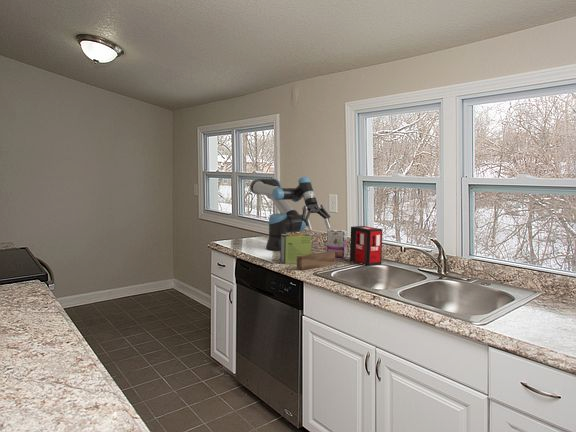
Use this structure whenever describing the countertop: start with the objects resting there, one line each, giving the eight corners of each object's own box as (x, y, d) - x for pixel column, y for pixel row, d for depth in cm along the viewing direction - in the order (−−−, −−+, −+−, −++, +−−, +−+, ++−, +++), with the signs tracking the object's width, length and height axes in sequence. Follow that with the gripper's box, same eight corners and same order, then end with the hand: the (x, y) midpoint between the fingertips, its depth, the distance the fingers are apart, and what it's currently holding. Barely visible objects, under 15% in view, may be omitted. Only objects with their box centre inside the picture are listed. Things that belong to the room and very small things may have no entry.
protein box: (311, 263, 243) (311, 235, 242) (284, 264, 239) (285, 236, 237) (305, 259, 253) (305, 233, 252) (279, 260, 249) (280, 233, 247)
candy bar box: (346, 257, 262) (347, 230, 260) (343, 258, 257) (344, 231, 256) (329, 255, 267) (330, 228, 266) (326, 256, 263) (327, 229, 261)
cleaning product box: (349, 260, 251) (350, 226, 249) (361, 259, 255) (362, 225, 253) (368, 266, 237) (370, 230, 235) (381, 264, 241) (382, 229, 239)
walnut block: (296, 269, 226) (296, 255, 226) (329, 263, 241) (329, 251, 241) (301, 270, 223) (301, 257, 223) (334, 264, 238) (335, 252, 238)
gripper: (295, 197, 267) (305, 228, 259) (329, 195, 279) (339, 225, 271) (290, 203, 273) (299, 233, 266) (323, 201, 285) (333, 230, 277)
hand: (319, 229), depth 268 cm, fingers open, 13 cm apart
